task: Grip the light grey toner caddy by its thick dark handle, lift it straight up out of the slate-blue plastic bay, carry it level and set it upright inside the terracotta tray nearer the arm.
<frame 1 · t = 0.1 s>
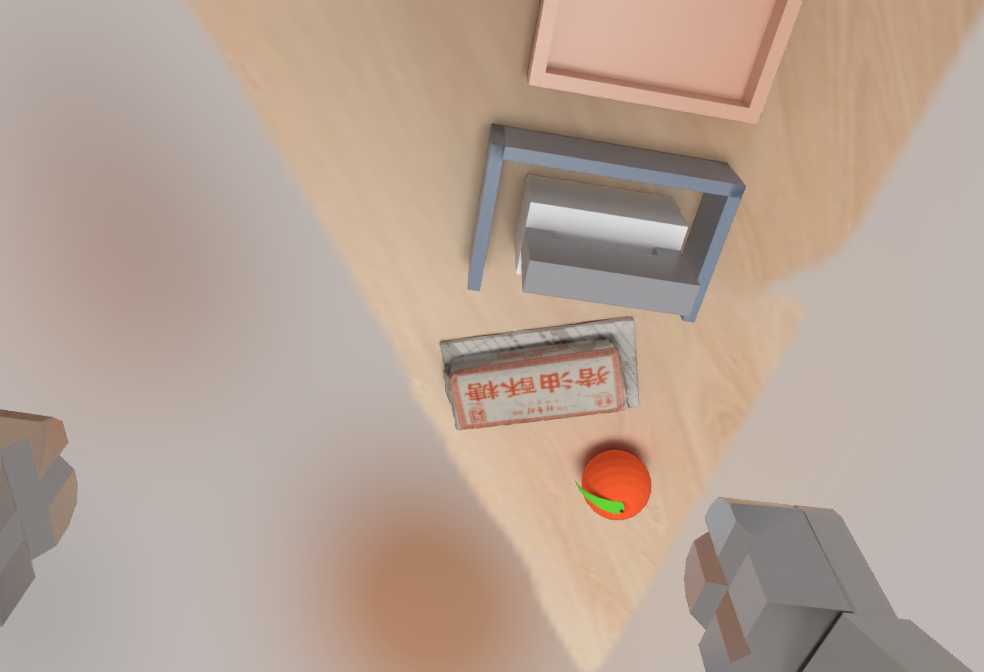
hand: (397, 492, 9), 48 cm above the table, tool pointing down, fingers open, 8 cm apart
toner caddy: (591, 219, 58), on the table
clementine: (606, 458, 73), on the table
slate bay: (591, 219, 58), on the table
terracotta tray: (658, 16, 50), on the table
packaged product: (541, 367, 67), on the table
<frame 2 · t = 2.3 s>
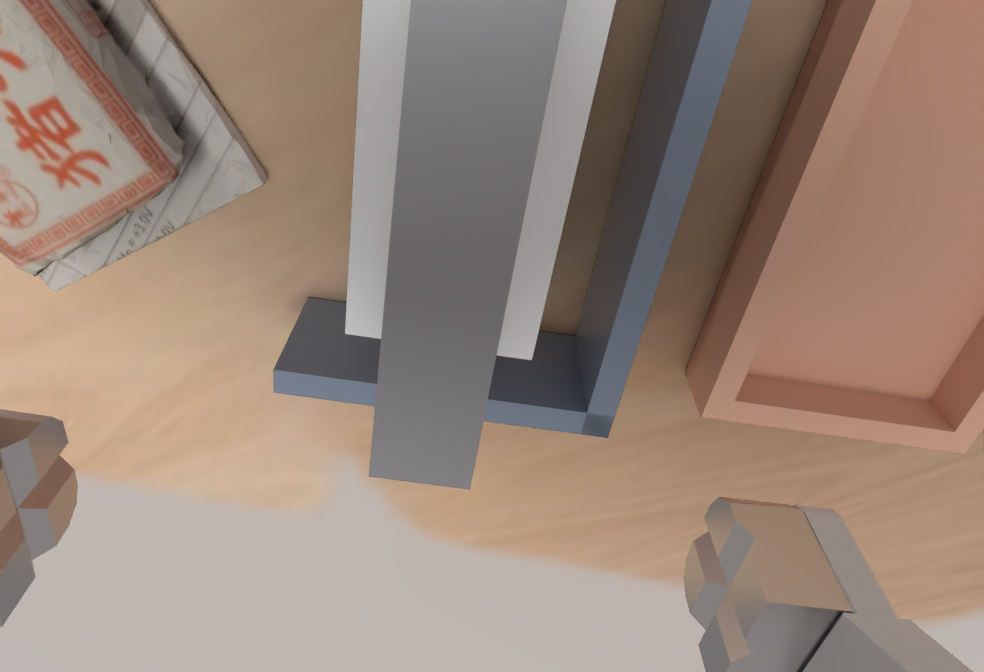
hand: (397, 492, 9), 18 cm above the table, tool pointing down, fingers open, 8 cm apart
toner caddy: (473, 107, 24), on the table
slate bay: (473, 108, 24), on the table
terracotta tray: (901, 208, 26), on the table
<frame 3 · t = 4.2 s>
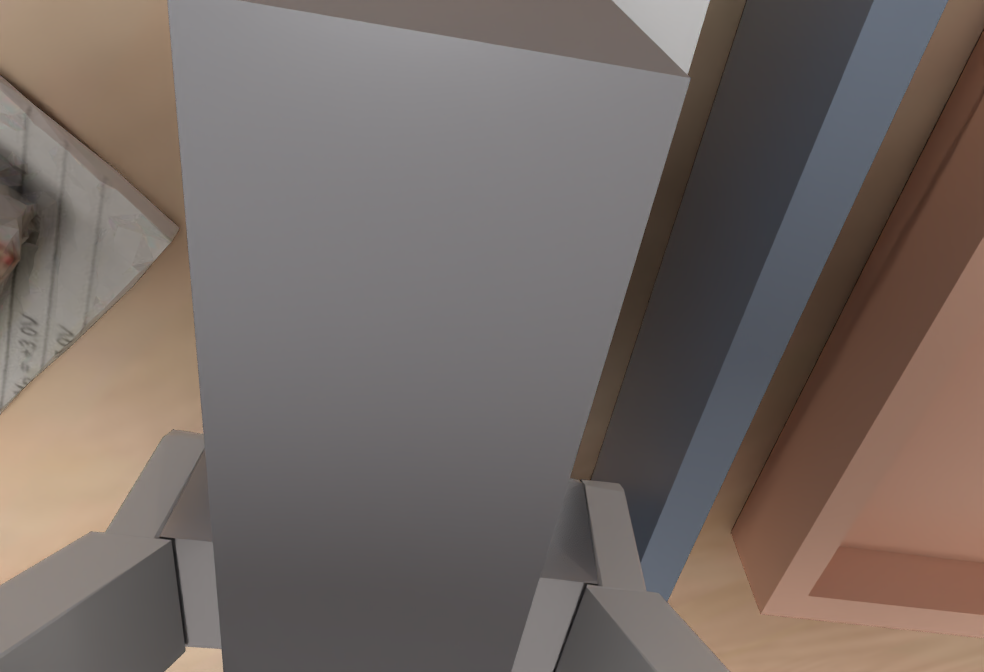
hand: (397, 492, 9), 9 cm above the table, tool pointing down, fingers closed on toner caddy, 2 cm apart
toner caddy: (443, 211, 17), on the table, touching gripper
slate bay: (443, 211, 17), on the table
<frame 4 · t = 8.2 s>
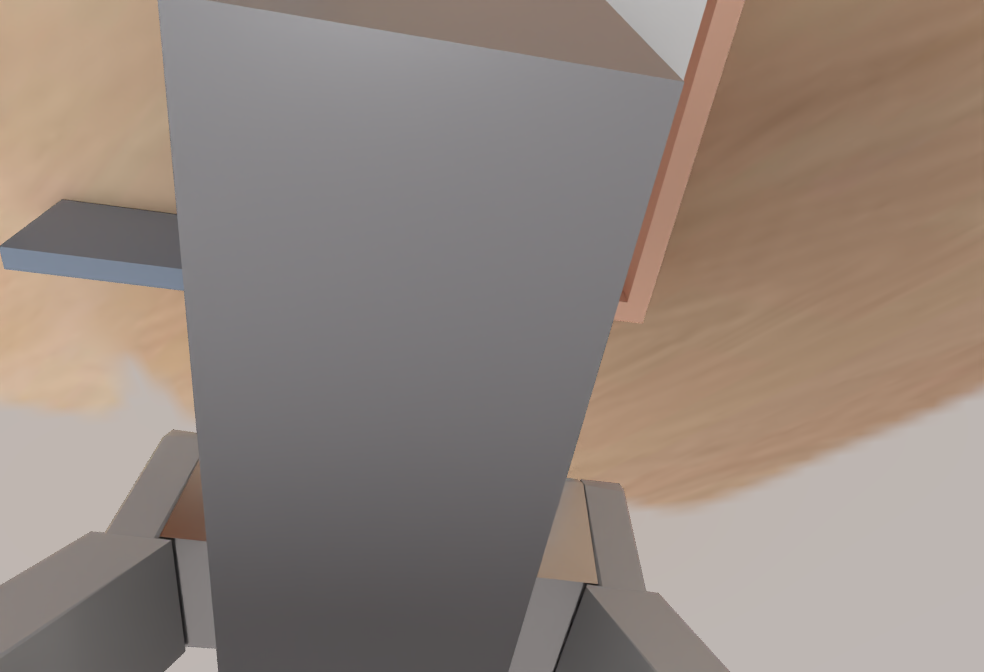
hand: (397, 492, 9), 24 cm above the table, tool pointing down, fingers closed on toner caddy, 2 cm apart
toner caddy: (441, 212, 17), point 15 cm above the table, touching gripper
slate bay: (170, 18, 28), on the table
terracotta tray: (557, 104, 30), on the table
when the fingers open (11 cm above the table, at t = 12.0 s): toner caddy stays where it is, resting on terracotta tray.
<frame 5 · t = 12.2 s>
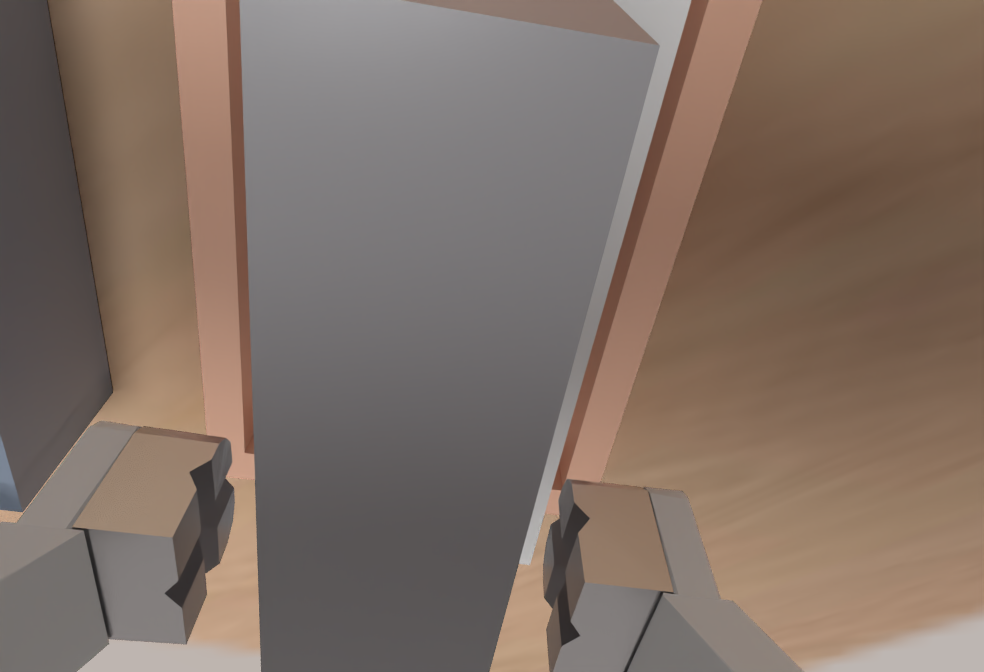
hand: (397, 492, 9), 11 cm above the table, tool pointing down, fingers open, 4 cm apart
toner caddy: (446, 197, 17), point 1 cm above the table, touching terracotta tray
terracotta tray: (445, 182, 18), on the table
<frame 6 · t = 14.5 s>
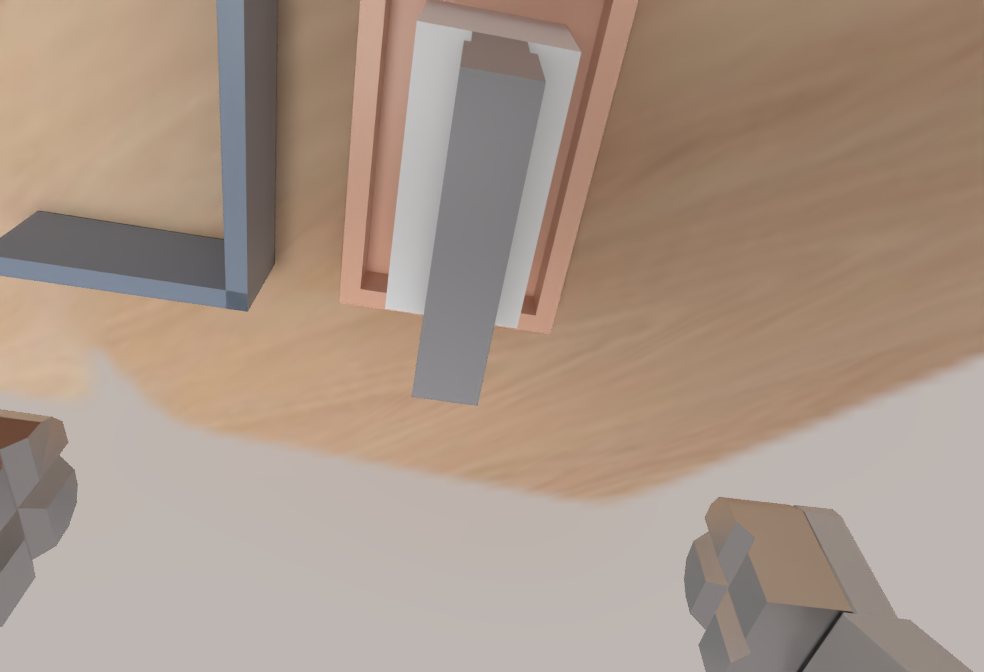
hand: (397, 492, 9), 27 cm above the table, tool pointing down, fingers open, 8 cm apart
toner caddy: (475, 147, 33), point 1 cm above the table, touching terracotta tray
slate bay: (132, 58, 32), on the table
terracotta tray: (473, 140, 34), on the table
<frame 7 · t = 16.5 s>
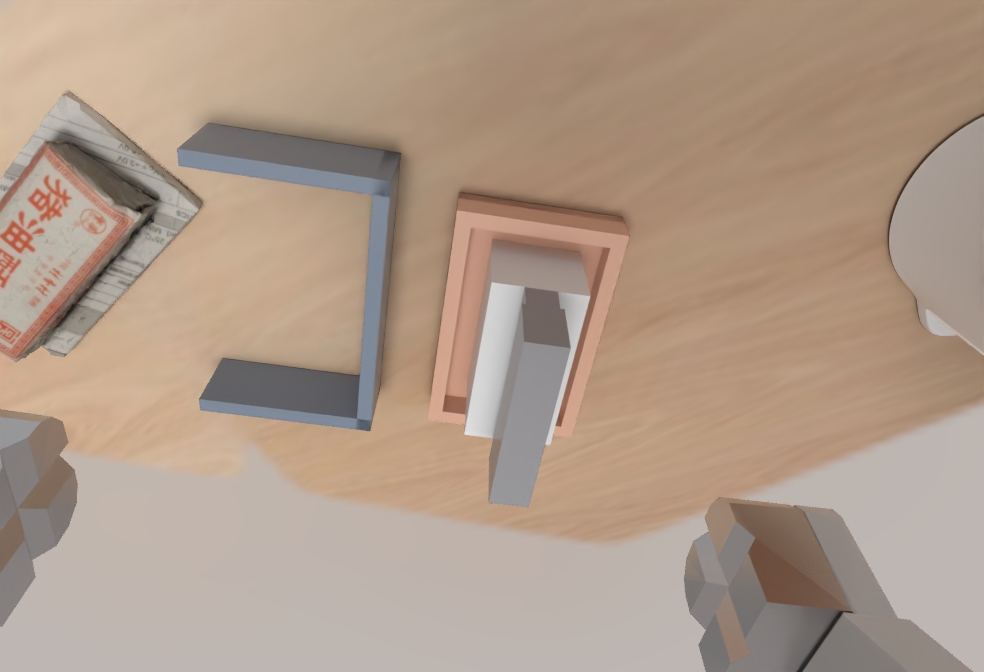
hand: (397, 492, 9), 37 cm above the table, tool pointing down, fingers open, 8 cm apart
toner caddy: (520, 321, 50), point 1 cm above the table, touching terracotta tray
slate bay: (296, 270, 49), on the table
terracotta tray: (518, 313, 51), on the table
packaged product: (74, 232, 48), on the table
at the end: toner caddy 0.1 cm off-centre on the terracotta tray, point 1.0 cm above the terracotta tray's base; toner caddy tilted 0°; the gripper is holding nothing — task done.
